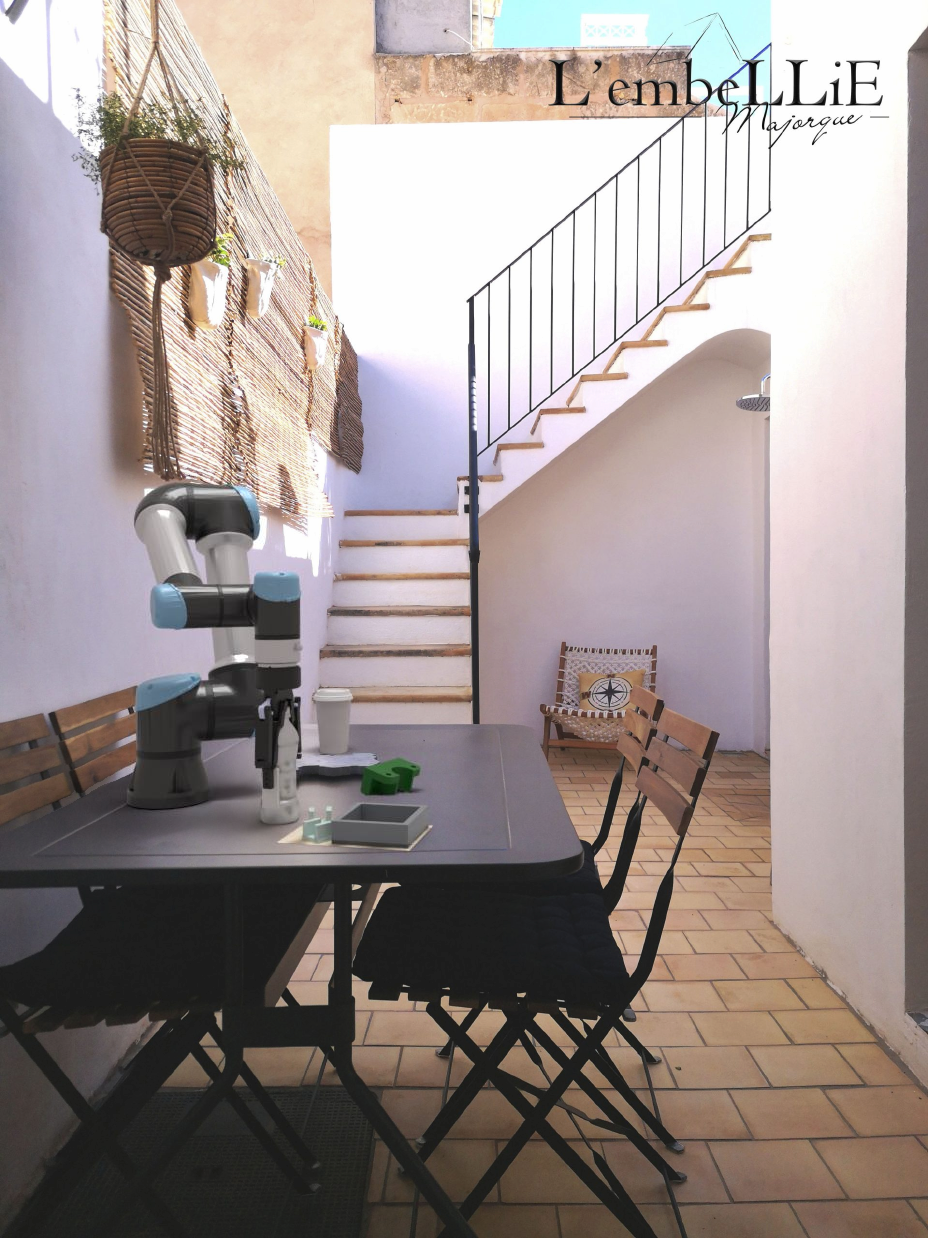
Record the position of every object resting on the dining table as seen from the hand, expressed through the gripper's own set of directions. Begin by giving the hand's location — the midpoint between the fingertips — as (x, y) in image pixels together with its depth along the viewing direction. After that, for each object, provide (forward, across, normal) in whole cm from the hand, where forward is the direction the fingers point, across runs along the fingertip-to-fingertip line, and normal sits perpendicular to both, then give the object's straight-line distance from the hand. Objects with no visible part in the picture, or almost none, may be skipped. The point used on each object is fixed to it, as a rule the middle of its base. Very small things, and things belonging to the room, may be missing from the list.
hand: (279, 802), depth 148 cm
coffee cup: (+4, +65, +15) cm, 67 cm away
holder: (+3, -6, -20) cm, 20 cm away
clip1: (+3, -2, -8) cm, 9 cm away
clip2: (+3, -10, -10) cm, 14 cm away
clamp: (+4, +26, -12) cm, 29 cm away
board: (+4, -6, -16) cm, 17 cm away
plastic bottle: (+4, 0, 0) cm, 4 cm away
